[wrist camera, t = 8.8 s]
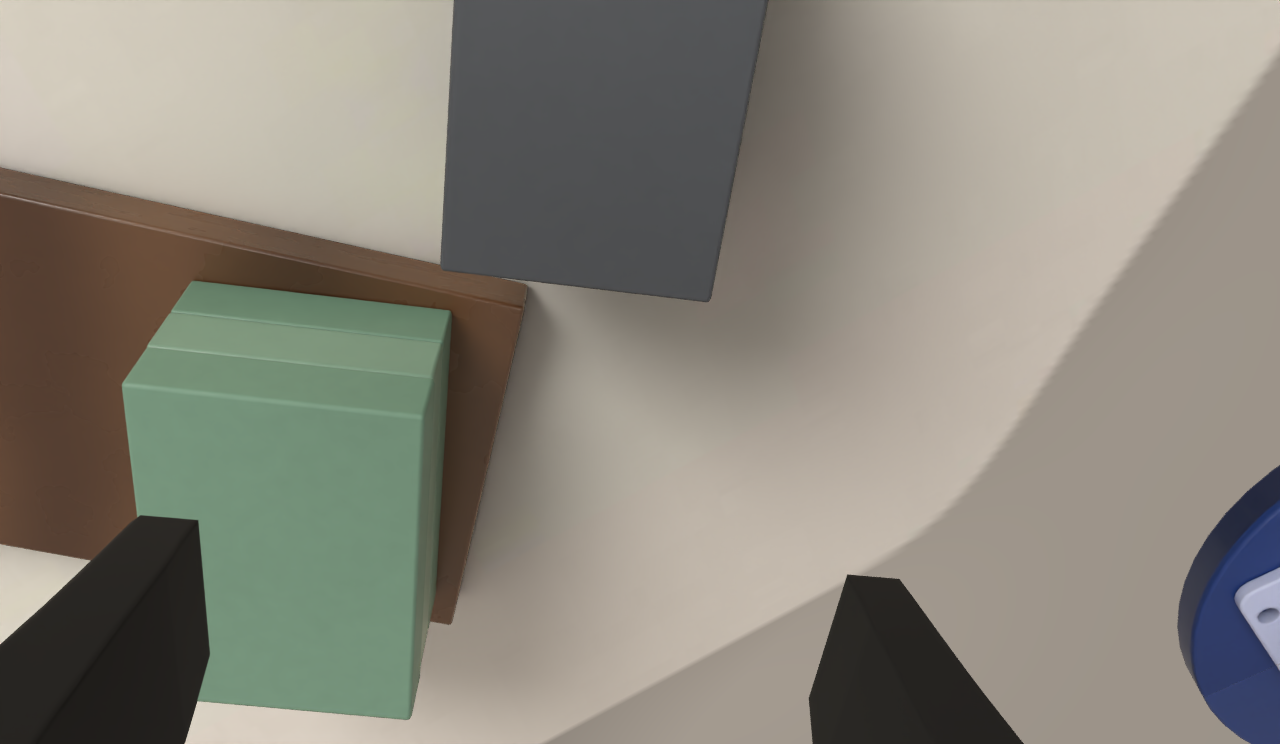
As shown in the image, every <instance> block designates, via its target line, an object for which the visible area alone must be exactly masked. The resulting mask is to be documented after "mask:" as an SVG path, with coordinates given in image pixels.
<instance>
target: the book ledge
mask: <svg viewBox="0 0 1280 744" xmlns="http://www.w3.org/2000/svg"><path fill="white" fill-rule="evenodd" d="M192 281H202V282H211V283H219V284H228V285H236V286H245V287H253V288H262V289H271V290H279V291H288V292H296V293H305V294H314V295H322V296H331V297H339V298H348V299H357V300H365V301H374V302H382V303H391V304H399V305H408V306H417V307H425V308H434V309H442V310H449V311H451V313H452V324H451V341H450V358H449V375H448V392H447V409H446V426H445V444H444V461H443V478H442V495H441V512H440V529H439V546H438V563H437V580H436V594H435V599H434V604H433V609H432V614H431V618H430V621H431V622H437V623H442V624H448V625H449V624H451V623H452V621H453V617H454V612H455V608H456V604H457V599H458V595H459V591H460V586H461V582H462V578H463V573H464V569H465V565H466V560H467V556H468V551H469V547H470V543H471V538H472V534H473V530H474V525H475V521H476V517H477V512H478V508H479V504H480V499H481V495H482V491H483V486H484V482H485V478H486V473H487V469H488V465H489V460H490V456H491V452H492V447H493V443H494V439H495V434H496V430H497V426H498V421H499V417H500V413H501V408H502V404H503V400H504V395H505V391H506V387H507V382H508V378H509V374H510V369H511V365H512V361H513V356H514V352H515V348H516V343H517V339H518V335H519V330H520V326H521V322H522V317H523V313H524V308H525V302H526V296H527V290H528V286H527V285H526V284H523V283H519V282H514V281H510V280H505V279H501V278H496V277H492V276H483V275H475V274H466V273H458V272H450V271H444V270H442V269H441V266H440V265H438V264H433V263H429V262H424V261H420V260H415V259H411V258H406V257H401V256H397V255H392V254H388V253H383V252H379V251H374V250H370V249H365V248H361V247H356V246H352V245H347V244H343V243H338V242H334V241H329V240H325V239H320V238H316V237H311V236H307V235H302V234H298V233H293V232H289V231H284V230H280V229H275V228H270V227H266V226H261V225H257V224H252V223H248V222H243V221H239V220H234V219H230V218H225V217H221V216H216V215H212V214H207V213H203V212H198V211H194V210H189V209H185V208H180V207H176V206H171V205H167V204H162V203H158V202H153V201H149V200H144V199H139V198H135V197H130V196H126V195H121V194H117V193H112V192H108V191H103V190H99V189H94V188H90V187H85V186H81V185H76V184H72V183H67V182H63V181H58V180H54V179H49V178H45V177H40V176H36V175H31V174H27V173H22V172H18V171H13V170H8V169H4V168H0V544H2V545H8V546H13V547H19V548H24V549H30V550H35V551H41V552H47V553H52V554H58V555H63V556H69V557H74V558H80V559H86V560H92V559H93V558H94V557H95V556H96V555H97V554H98V553H99V552H101V551H102V550H103V549H104V548H105V547H106V546H107V545H108V544H109V543H110V542H111V541H112V540H113V539H114V538H115V537H116V536H117V535H118V534H119V533H120V532H121V531H122V530H123V529H124V528H125V527H126V526H127V525H128V524H129V523H130V522H132V521H133V520H134V519H136V518H137V510H136V502H135V493H134V485H133V476H132V468H131V459H130V451H129V443H128V434H127V426H126V417H125V409H124V400H123V392H122V383H123V381H124V380H125V379H126V377H127V376H128V374H129V373H130V371H131V370H132V368H133V367H134V366H135V364H136V363H137V361H138V360H139V358H140V357H141V355H142V354H143V353H144V351H145V350H146V349H147V345H148V343H149V342H150V341H151V339H152V338H153V336H154V335H155V333H156V332H157V331H158V329H159V328H160V326H161V325H162V323H163V322H164V320H165V319H166V318H167V316H168V315H169V314H170V313H171V310H172V309H173V307H174V306H175V304H176V303H177V301H178V300H179V298H180V297H181V296H182V294H183V293H184V291H185V290H186V288H187V287H188V286H189V284H190V283H191V282H192Z"/></svg>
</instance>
